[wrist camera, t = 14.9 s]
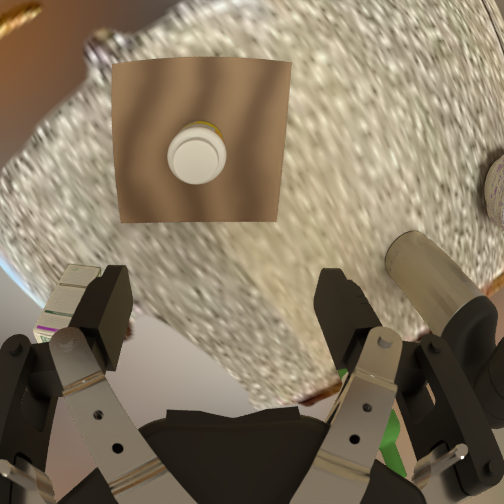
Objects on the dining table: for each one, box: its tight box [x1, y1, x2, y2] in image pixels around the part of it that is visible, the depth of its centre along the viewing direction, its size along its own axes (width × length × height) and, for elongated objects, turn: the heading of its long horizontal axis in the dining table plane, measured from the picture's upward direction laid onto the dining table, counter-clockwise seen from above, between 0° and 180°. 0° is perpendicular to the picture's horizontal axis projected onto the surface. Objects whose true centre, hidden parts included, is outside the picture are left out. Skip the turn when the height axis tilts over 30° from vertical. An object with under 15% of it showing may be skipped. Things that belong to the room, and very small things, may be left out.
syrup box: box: [33, 264, 101, 343], centre depth 33 cm, size 6×6×14 cm
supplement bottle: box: [167, 121, 226, 184], centre depth 27 cm, size 5×5×10 cm
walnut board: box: [112, 57, 292, 223], centre depth 31 cm, size 20×20×1 cm
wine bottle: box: [338, 369, 407, 477], centre depth 46 cm, size 8×8×30 cm
